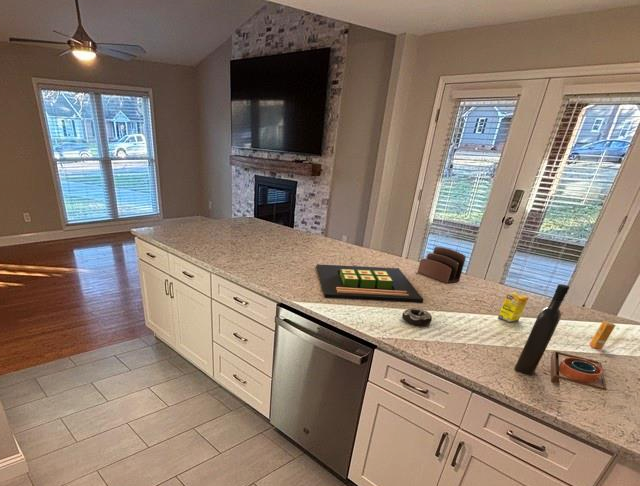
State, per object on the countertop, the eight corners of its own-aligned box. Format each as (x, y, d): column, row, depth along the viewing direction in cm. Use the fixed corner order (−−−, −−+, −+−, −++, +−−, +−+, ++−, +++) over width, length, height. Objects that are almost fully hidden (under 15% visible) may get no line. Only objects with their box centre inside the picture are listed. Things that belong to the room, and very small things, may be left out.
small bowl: (588, 376, 138) (595, 364, 136) (589, 385, 133) (596, 373, 131) (565, 370, 141) (571, 358, 138) (566, 378, 136) (572, 367, 134)
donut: (432, 329, 166) (435, 319, 164) (402, 325, 168) (404, 316, 166) (428, 317, 176) (430, 308, 173) (400, 314, 177) (402, 305, 175)
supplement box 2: (602, 349, 157) (616, 325, 151) (593, 348, 157) (606, 324, 152) (598, 345, 159) (611, 321, 154) (588, 344, 160) (601, 320, 154)
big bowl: (593, 376, 139) (601, 363, 137) (596, 391, 131) (604, 378, 128) (555, 366, 144) (562, 354, 141) (556, 381, 136) (562, 368, 133)
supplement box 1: (497, 318, 178) (506, 293, 172) (506, 315, 180) (515, 292, 174) (509, 323, 173) (519, 299, 167) (518, 321, 176) (529, 296, 170)
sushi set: (324, 297, 190) (325, 288, 187) (316, 267, 227) (317, 259, 225) (422, 302, 189) (424, 293, 187) (397, 271, 227) (399, 263, 225)
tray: (597, 368, 144) (600, 362, 143) (602, 395, 130) (606, 389, 128) (550, 356, 150) (553, 350, 149) (550, 381, 135) (554, 375, 134)
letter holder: (429, 270, 231) (436, 244, 223) (459, 281, 217) (468, 254, 209) (416, 272, 227) (423, 246, 219) (446, 283, 213) (455, 256, 205)
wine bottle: (535, 370, 141) (576, 286, 125) (531, 376, 138) (573, 290, 121) (517, 364, 144) (555, 281, 128) (513, 370, 141) (551, 285, 124)
